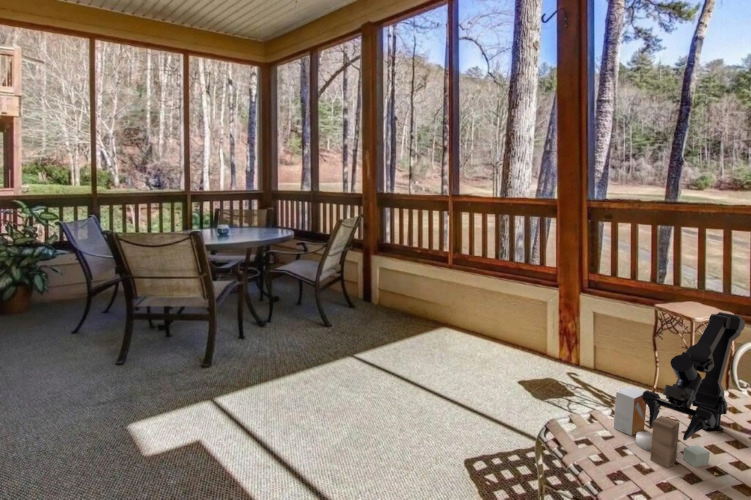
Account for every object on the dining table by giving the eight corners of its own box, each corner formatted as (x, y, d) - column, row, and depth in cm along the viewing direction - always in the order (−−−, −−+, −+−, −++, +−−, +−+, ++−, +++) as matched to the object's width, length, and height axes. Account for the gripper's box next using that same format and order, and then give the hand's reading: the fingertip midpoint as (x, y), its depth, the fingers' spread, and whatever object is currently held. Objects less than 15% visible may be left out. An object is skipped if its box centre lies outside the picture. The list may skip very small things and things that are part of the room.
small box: (631, 436, 158) (634, 398, 156) (612, 428, 163) (615, 391, 161) (645, 429, 162) (648, 392, 160) (626, 421, 167) (629, 385, 165)
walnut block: (658, 454, 147) (661, 415, 146) (676, 461, 144) (679, 422, 142) (650, 460, 145) (653, 420, 143) (668, 468, 141) (671, 427, 139)
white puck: (649, 439, 156) (650, 431, 155) (661, 450, 150) (662, 441, 149) (631, 440, 155) (632, 431, 155) (642, 451, 149) (643, 441, 149)
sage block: (696, 457, 146) (697, 444, 145) (708, 464, 142) (709, 452, 141) (682, 459, 145) (683, 447, 144) (694, 467, 141) (695, 454, 140)
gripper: (646, 365, 151) (626, 408, 146) (715, 385, 136) (696, 434, 132) (656, 382, 157) (637, 425, 152) (723, 404, 142) (704, 451, 137)
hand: (666, 433), depth 143 cm, fingers open, 9 cm apart
